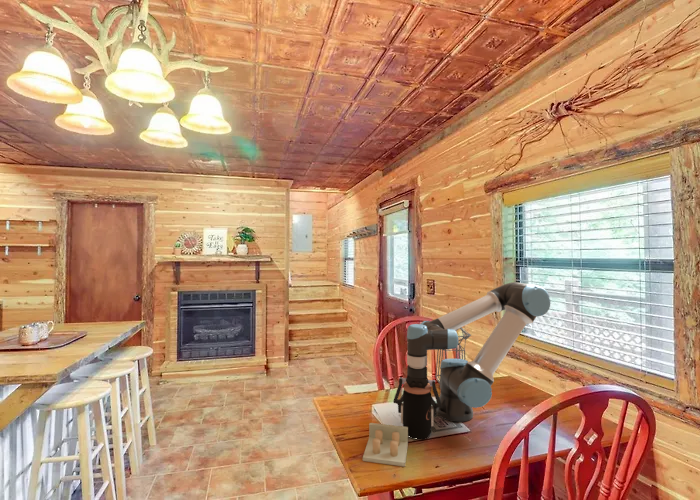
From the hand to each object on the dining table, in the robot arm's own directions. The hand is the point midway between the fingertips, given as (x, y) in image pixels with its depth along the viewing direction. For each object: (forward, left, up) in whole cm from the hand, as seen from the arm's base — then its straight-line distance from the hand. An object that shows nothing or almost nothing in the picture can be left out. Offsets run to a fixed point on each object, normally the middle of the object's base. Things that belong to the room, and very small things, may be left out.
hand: (417, 422), depth 135 cm
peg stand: (+10, +15, -4) cm, 18 cm away
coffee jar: (0, 0, -4) cm, 4 cm away
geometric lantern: (-15, -46, -4) cm, 48 cm away
